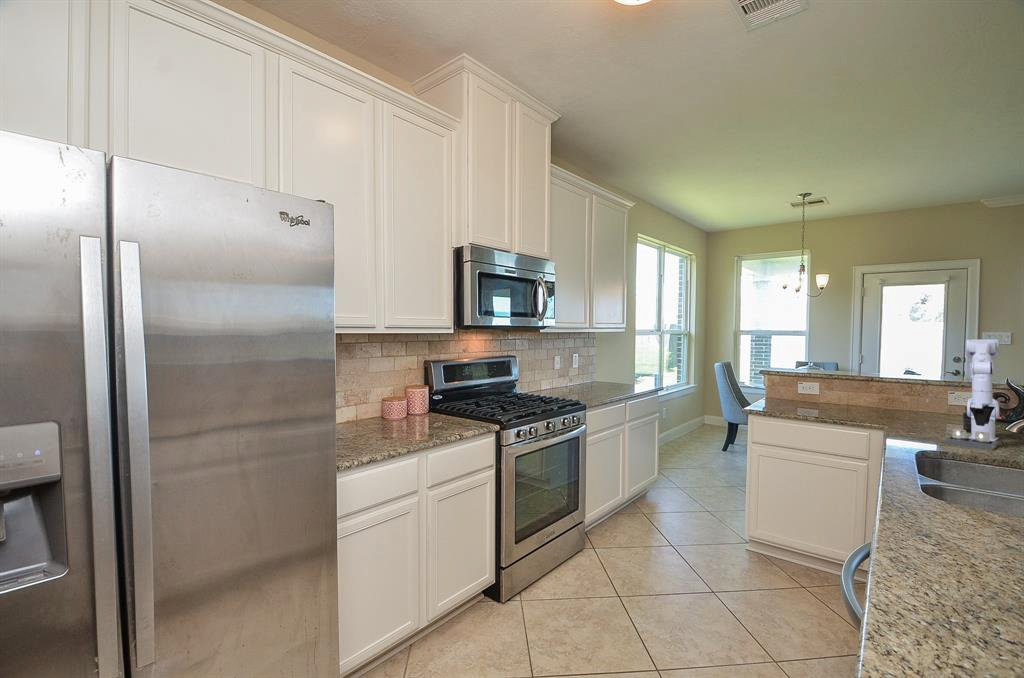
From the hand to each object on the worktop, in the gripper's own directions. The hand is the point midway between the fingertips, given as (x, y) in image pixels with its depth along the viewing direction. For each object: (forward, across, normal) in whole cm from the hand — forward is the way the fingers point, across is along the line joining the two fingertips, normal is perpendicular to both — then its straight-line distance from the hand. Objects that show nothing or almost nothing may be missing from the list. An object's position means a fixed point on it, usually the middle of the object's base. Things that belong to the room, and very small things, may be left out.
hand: (982, 424), depth 180 cm
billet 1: (+9, 0, +7) cm, 11 cm away
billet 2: (+9, 0, 0) cm, 9 cm away
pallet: (+9, 0, +3) cm, 10 cm away
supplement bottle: (+10, +42, +9) cm, 44 cm away
